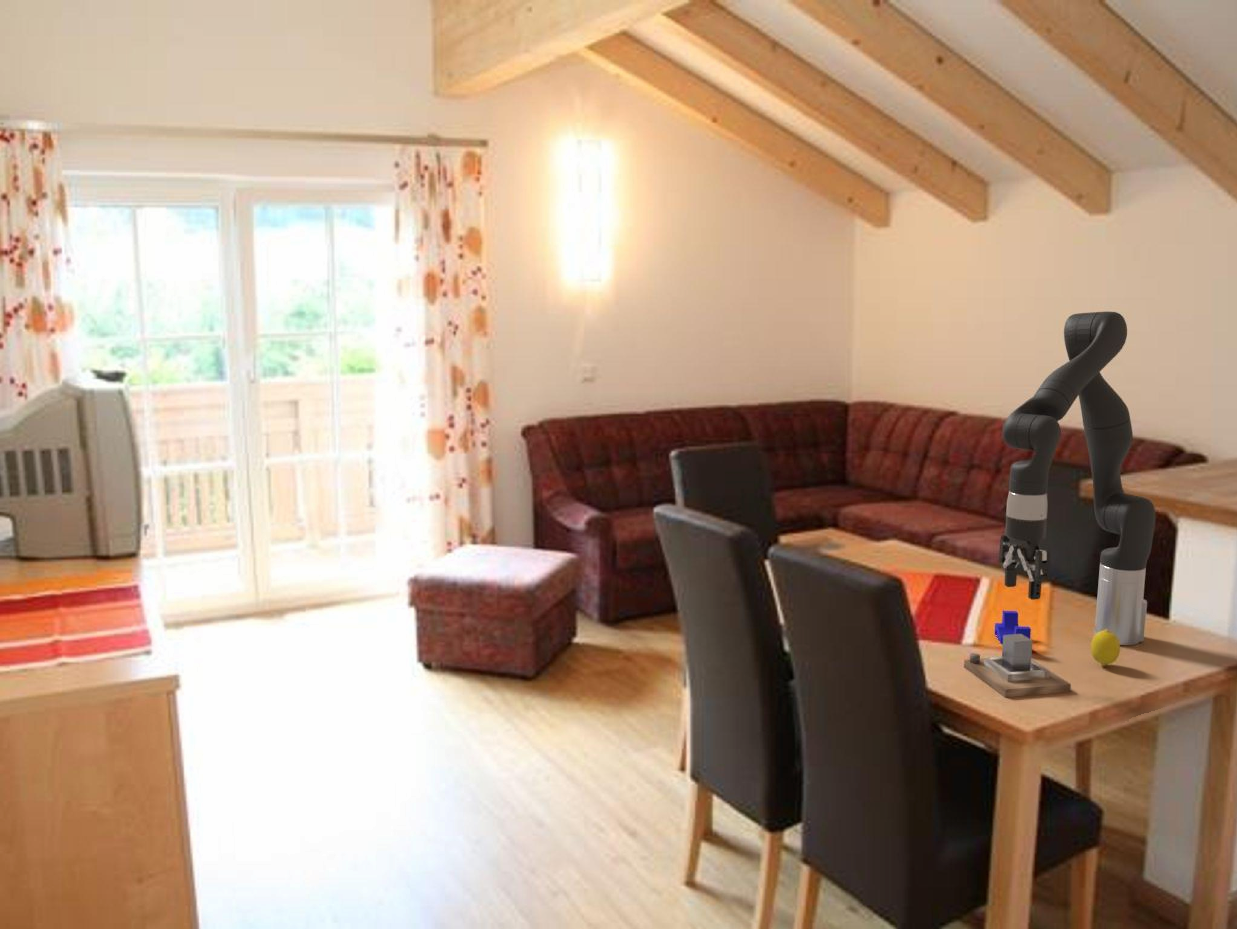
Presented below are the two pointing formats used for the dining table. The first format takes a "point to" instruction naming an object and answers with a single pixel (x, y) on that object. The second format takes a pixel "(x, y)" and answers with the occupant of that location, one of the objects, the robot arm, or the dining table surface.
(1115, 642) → the lemon
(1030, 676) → the door panel
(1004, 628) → the cable clip
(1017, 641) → the hinge block
